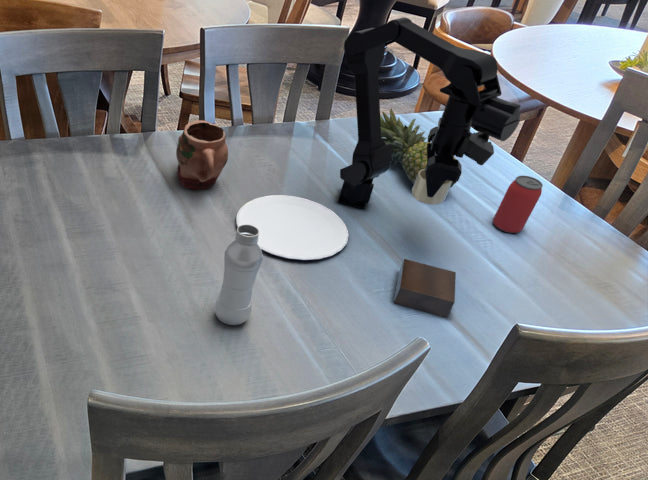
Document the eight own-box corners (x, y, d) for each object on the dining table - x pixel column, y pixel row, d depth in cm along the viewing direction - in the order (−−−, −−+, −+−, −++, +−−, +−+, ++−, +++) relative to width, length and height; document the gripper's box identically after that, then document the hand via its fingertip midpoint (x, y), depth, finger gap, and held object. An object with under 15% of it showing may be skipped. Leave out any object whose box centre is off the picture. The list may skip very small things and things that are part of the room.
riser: (393, 302, 124) (400, 287, 121) (398, 273, 131) (404, 258, 128) (447, 317, 121) (454, 302, 118) (448, 287, 128) (455, 272, 126)
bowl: (410, 200, 134) (417, 180, 131) (411, 185, 139) (419, 165, 136) (443, 208, 132) (452, 187, 129) (444, 192, 137) (452, 172, 134)
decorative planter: (235, 203, 148) (244, 150, 139) (185, 208, 146) (191, 154, 137) (210, 161, 163) (216, 111, 154) (164, 165, 160) (168, 114, 151)
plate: (212, 227, 140) (213, 222, 139) (275, 187, 155) (276, 182, 154) (309, 279, 128) (310, 274, 127) (367, 230, 142) (369, 226, 142)
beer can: (525, 236, 144) (549, 191, 136) (495, 232, 145) (517, 187, 137) (517, 220, 149) (540, 176, 141) (488, 216, 150) (510, 172, 142)
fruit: (477, 155, 148) (404, 91, 167) (430, 172, 147) (362, 106, 166) (464, 197, 158) (397, 133, 177) (420, 214, 157) (357, 147, 176)
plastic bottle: (210, 306, 120) (224, 219, 107) (245, 305, 121) (263, 219, 108) (216, 330, 115) (231, 242, 102) (252, 329, 116) (272, 241, 103)
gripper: (503, 149, 115) (471, 220, 125) (497, 110, 129) (469, 176, 139) (439, 136, 118) (413, 207, 128) (440, 100, 132) (417, 166, 142)
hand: (430, 188), depth 134 cm, fingers closed on bowl, 7 cm apart
